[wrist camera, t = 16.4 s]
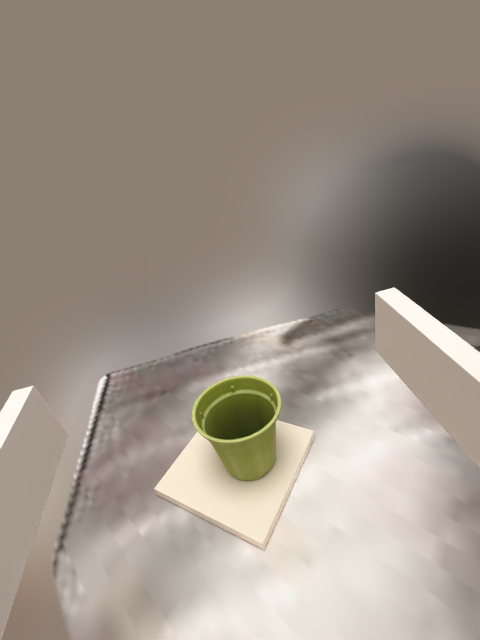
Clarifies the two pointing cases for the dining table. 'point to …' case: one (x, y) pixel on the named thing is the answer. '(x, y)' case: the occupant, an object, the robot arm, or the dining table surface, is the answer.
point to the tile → (236, 485)
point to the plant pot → (240, 424)
